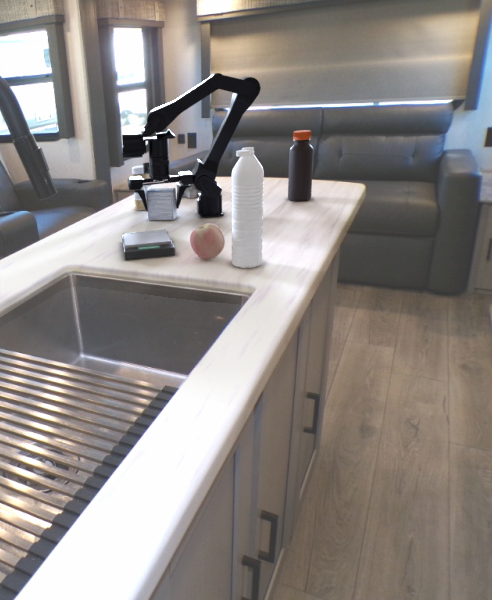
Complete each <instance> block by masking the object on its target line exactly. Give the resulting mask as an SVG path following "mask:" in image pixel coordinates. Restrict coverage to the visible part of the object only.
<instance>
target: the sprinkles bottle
mask: <svg viewBox="0 0 492 600" xmlns="http://www.w3.org/2000/svg"><path fill="white" fill-rule="evenodd" d="M131 174H132V177H136V176H141V178H142V179H147V178H148V177H147V175H148V174H144V172H143V164H142V165H134V166H132V167H131ZM148 187H149V185H143V188H144V191H145V196H146V192H147V191H148V190H149V188H148ZM133 197H134V209H135V210H137V211H146V209H145V207H144V204H143V202H142V199H141V198H140V196H139V194H138V193H134V192H133ZM146 202H147V196H146Z"/></svg>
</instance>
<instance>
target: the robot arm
mask: <svg viewBox="0 0 492 600" xmlns="http://www.w3.org/2000/svg"><path fill="white" fill-rule="evenodd" d="M261 89H262V87H261V84H260V81H259V80H258V79H257V78H256V77H252V76H243V77H240V78H237V77H233V76H229V75H225V74H222V73H221V72H214V73H212V74H211V75H210V76H209V77H207V78H206V79H204V80H203V81H201V82H199V83H198V84H197V85H195V86H194V87H192V88H191V89H189V90H187V91H186V92H185V93H183V94H182V95H180V96H179V97H177V98H176V99H174V100H172V101H170V102H167V103H165V104H162V105H160V106H156V107H154V108H152V109H151V110H150V111H148V113H147V115H146V123H145V125H144V127H143V128H142V129H141V132H138V133H137V132H136V133H135V132H134V133H122V134H121V139H122V146H121V151H122V159H123V160H128V159H141V158H143V156H144V155H145V154H147V148H148V159H149V161H148V162H142V165H143V172H144V174H146V175H149V177H147V179H142V178H141V176H136V177H133V176H129V177H128V178H127V188H128V190H129V191H133V194H134V193H138V194H139V196H140V198H141V199H142V202H143V204H144V207H145V209H146V210H145V212H146V213H148V207H147V202H146V196H145V191H144V188H143V185H148V186H151V185H163V184H172V183H176V206H177V210H178V209H179V208H180V205H181V201H182V200H183V199H182V198H183V197H182V196H183V194H184V192H185V190H186V188H188V187H190V185H189V184H194V186H195V187H196V189H198V190H199V191H201V192H202V193H199V194H198V195H199V196H198V198H196V213H197V214H198V215H199V217H200V218H201V219H207V218H215V217H223V216H224V213H223V193H222V192H223V188H222V187H221V186H220V184H219V182H218V181H216V178H217V175H218V171H219V166H220V161H221V159H222V158H223V156H224V154H225V152H226V150H227V148H228V146H229V144H230V142H231V140H232V137H233V135H234V133H235V131H236V130H237V127H238V125H239V124H240V121H241V119H242V117H243V116H244V115H245V113H246V112H247V110H249V108H250V107H251V106H252V105H253V104H254V102H255V100H256V99H257V97H258V96H259V95H260V92H261ZM217 90H221V91H226V92H230V93H232V94H231V99H230V103H229V108H228V110H227V112H226V114H225V116H224V118H223V121H222V122H221V124H220V127H219V129H218V131H217V132H216V134H215V137H214V139H213V141H212V143H211V145H210V147H209V149H208V151H207V153H206V155H205V156H204V158H203V159H202V160H200V159H199V158H197V159H196V162H195V164H194V167H193V169H191V171H190V170H186V171H178V172H177V174H176V175H171V163H170V161H171V160H170V144H169V141H170V139H171V140H172V139H175V138H176V135H175V134H174V133H173V132H172V131H171V130H170V128H168V126H170V125H171V124H172V123H173V122H174V121H175V120H176V119H177V118H178V117H179V116H180V115H181V114H182V113H183V112H186V111H187V110H188V109H190V108H191V107H193V106H194V105H196V104H197V103H199V102H201V101H203V99H206V98H207V97H209V95H211V94H213V93H215V92H216V91H217ZM166 128H168V129H167V130H166V131H164V130H165V129H166ZM163 131H164V132H163ZM153 134H155V136H152V135H153ZM147 146H148V147H147Z"/></svg>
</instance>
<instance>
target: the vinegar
mask: <svg viewBox="0 0 492 600" xmlns="http://www.w3.org/2000/svg"><path fill="white" fill-rule="evenodd" d="M292 135H293V136H292V142H293V145H292V146H291V147H290V148H289V152H288V153H289V154H288V157H289V158H288V179H287V180H288V181H287V182H288V183H287V184H288V185H287V186H288V187H287V199H288V200H289V201H291V202H292V201H293V202H305V201H309V200H311V198H312V191H313V190H312V189H313V188H312V186H313V171H314V170H313V167H314V151H315V149H314V147H313V146H312V145H311V139H312V130H310V129H300V130H295V131H293V134H292Z"/></svg>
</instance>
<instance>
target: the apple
mask: <svg viewBox="0 0 492 600" xmlns="http://www.w3.org/2000/svg"><path fill="white" fill-rule="evenodd" d="M189 243H190V247H191V249H192V251H193V253H194V254H195V255H196V256H197V257H198V258H200V259H202V260H212V259H215V258H217V256H219V255H220V254H221V253H222V252H223V250H224V248H225V244H226V242H225V235H224V233H223V231H222V229H221V228H220V227H219V226H218V225H217V224H215V223H212V222H211V223H210V222H206V223H203V224H201V225H199V226H197V227H195V228H194V229H193V230H192V231H191V233H190V236H189Z"/></svg>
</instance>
